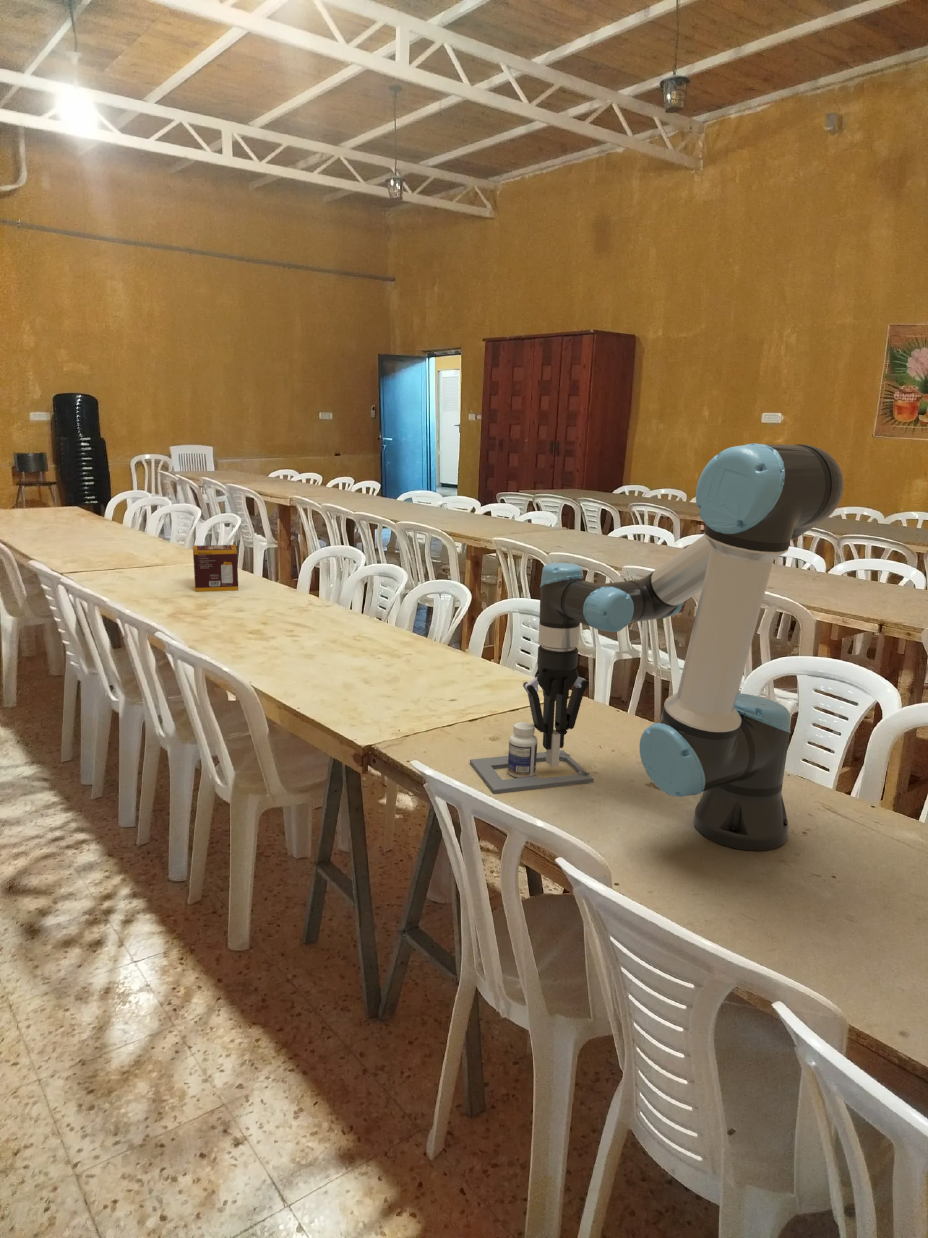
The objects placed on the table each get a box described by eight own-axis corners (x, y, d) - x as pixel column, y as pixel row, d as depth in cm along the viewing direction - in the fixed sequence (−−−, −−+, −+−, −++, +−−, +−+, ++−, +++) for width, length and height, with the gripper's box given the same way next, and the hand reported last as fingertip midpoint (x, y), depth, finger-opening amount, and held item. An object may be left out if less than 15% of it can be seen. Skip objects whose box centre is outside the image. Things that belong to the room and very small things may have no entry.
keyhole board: (595, 782, 160) (595, 778, 160) (493, 793, 154) (493, 789, 154) (564, 753, 173) (565, 749, 173) (469, 763, 167) (469, 759, 167)
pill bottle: (520, 765, 167) (523, 718, 164) (541, 774, 163) (544, 726, 161) (501, 772, 163) (504, 724, 161) (522, 781, 159) (525, 732, 157)
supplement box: (194, 586, 318) (192, 545, 314) (237, 585, 323) (235, 544, 319) (195, 592, 308) (192, 549, 305) (238, 590, 313) (237, 548, 309)
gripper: (580, 638, 164) (573, 753, 169) (518, 643, 160) (513, 760, 165) (598, 649, 157) (591, 767, 163) (534, 653, 153) (528, 775, 158)
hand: (552, 763), depth 164 cm, fingers closed
